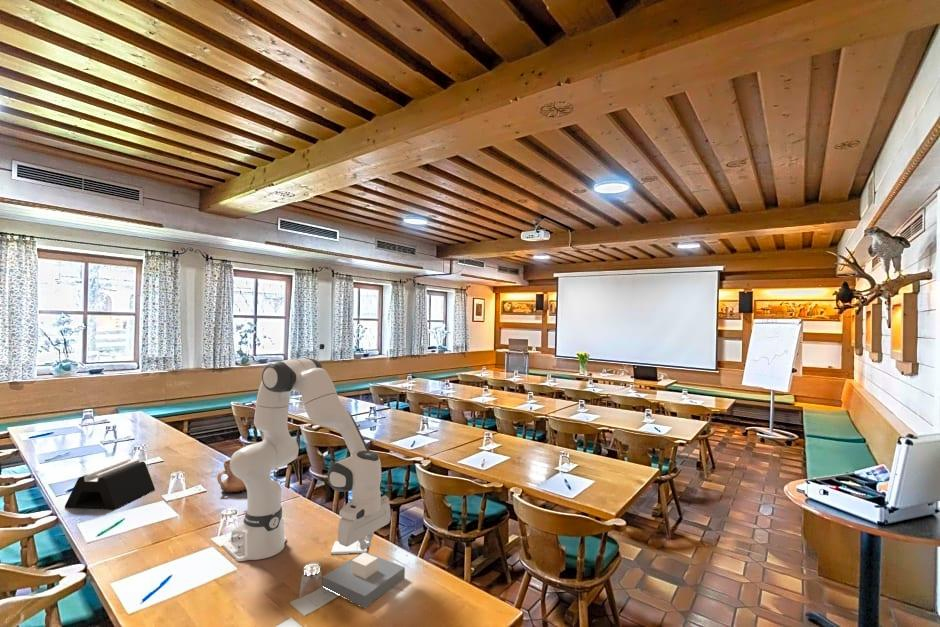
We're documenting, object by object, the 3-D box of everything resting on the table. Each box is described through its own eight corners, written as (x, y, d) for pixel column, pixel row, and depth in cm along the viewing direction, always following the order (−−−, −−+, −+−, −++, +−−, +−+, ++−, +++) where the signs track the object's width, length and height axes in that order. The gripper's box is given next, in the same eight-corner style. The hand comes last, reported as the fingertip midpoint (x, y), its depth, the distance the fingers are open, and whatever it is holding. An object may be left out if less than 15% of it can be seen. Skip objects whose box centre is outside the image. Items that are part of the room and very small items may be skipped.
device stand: (64, 508, 187) (66, 473, 188) (109, 489, 210) (110, 458, 210) (115, 510, 187) (116, 475, 187) (154, 490, 209) (156, 459, 210)
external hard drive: (335, 545, 162) (368, 543, 164) (330, 556, 154) (366, 554, 156) (335, 540, 162) (369, 539, 164) (330, 551, 154) (366, 550, 156)
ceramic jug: (247, 481, 223) (248, 453, 223) (262, 487, 214) (262, 459, 215) (210, 492, 209) (210, 462, 209) (223, 499, 200) (224, 468, 200)
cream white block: (350, 584, 137) (351, 560, 137) (363, 575, 142) (364, 552, 142) (364, 590, 134) (365, 565, 134) (377, 581, 138) (377, 557, 139)
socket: (322, 588, 135) (322, 576, 135) (363, 561, 150) (364, 551, 150) (364, 608, 125) (364, 596, 125) (404, 578, 141) (404, 567, 141)
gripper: (381, 491, 149) (380, 532, 148) (335, 512, 131) (333, 559, 131) (395, 495, 146) (394, 537, 145) (349, 518, 128) (348, 565, 128)
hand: (365, 547), depth 138 cm, fingers closed
